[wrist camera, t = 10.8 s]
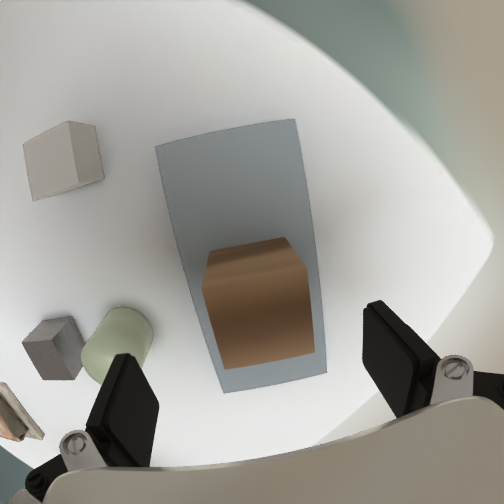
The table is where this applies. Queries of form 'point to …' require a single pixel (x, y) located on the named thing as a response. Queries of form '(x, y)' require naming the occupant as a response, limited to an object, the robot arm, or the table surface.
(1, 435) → the packaged product
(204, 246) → the slate board
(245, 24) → the table surface
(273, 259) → the walnut block
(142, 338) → the sage plastic cylinder
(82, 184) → the grey plastic cube
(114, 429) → the robot arm
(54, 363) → the dark metal block
